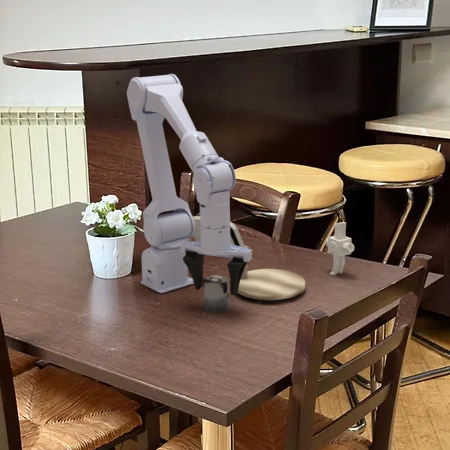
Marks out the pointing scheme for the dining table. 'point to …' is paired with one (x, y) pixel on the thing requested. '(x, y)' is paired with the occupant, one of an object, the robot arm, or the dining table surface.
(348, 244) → the toy robot
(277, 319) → the dining table surface
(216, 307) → the grey short cylinder
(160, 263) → the robot arm
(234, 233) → the grey piece
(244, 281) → the turntable
